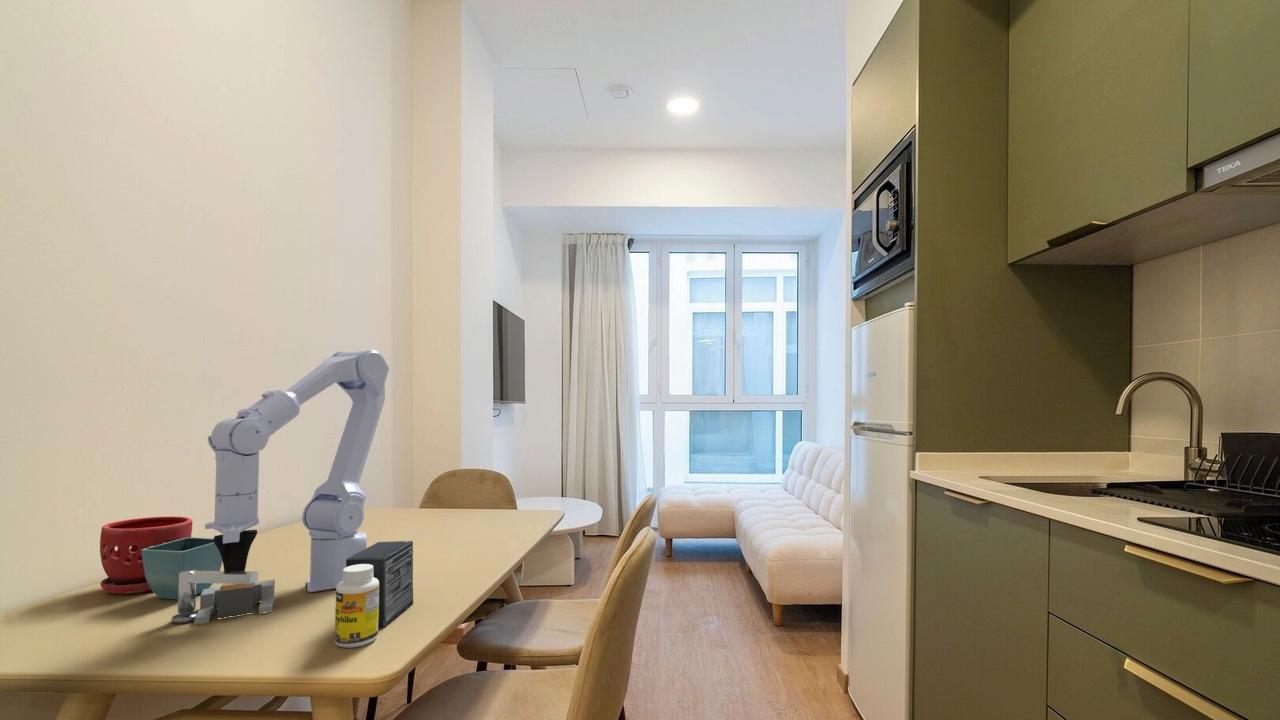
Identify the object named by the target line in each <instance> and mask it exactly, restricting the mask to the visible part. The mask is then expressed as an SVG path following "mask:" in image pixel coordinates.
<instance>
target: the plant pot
mask: <svg viewBox="0 0 1280 720" xmlns="http://www.w3.org/2000/svg"><path fill="white" fill-rule="evenodd" d="M192 533H193V519H192V518H189V517H186V516H153V517H151V516H150V517H141V518H130V519H124V520H123V519H122V520H118V521H113V522H108V523H106V524H104V525H102V527H101V530H100V536H99V537H100V538H99V555H100V561H101V566H102V569H103V571H104V573H105V574H106V576H107V577H106V578H104V579H102V580H101V581H100V583H99V584H100V587H101V589H102V590H104V592H107V593H110V594H117V595H129V594H139V593H145V592H146V593H147V592H151V591H152V590H151V588H150V587H149V585H148V583H147V580H146V577H145V573H144V566H143V559H142V551H141V550H142V549H145V548H149V547H153V546H157V545H160V544H164V543H168V542H172V541H176V540H179V539H183V538H188V537H192ZM116 547H117V550H116V549H115V548H116Z"/></svg>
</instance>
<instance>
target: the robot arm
mask: <svg viewBox="0 0 1280 720" xmlns="http://www.w3.org/2000/svg"><path fill="white" fill-rule="evenodd" d="M389 371H390V367H389V364H388V363H387V361H386V359H385V357H384V355H383V354H382V353H381V352H379V351H378V350H375V349H366V350H359V351H338V352H335V353H334V354H332V355H331V356H329V357H326V358H324V359H323V361H322V362H321V364H319V365H318V366H317V367H316V368H314V369H313V370H311V371H309V373H307V374H306V375H305V376H304V377H302V378H301V379H299V380H298V381H297V382H296V383H294V384H293V385H292V386H291V387H290V388H288V389H286V390H282V389H274V390H267V391H265V392H263V393H262V394H261V397H262V398H261V399H259V400H258V401H256V402H255V403H253V404H252V405H250V406H248V408H241V409H240V410H238V411H237V415H236V417H235V418H226V419H223V420H221V421H220V422H218V423H217V424H216V425H215V426H214V427H213V429H212V432H211V435H209V436H207V443H208V446H209V447H210V448H211V450H213V452H214V453H215V457H214V458H215V485H214V487H215V491H214V521H212V522H211V521H209V522H206V523H205V524H204V529H205V530H211V529H213V530H215V531H217V532H219V533H221V534H218V535H214V536H213V539H214V540H213V541H214V543H215V545H216V546H217V548H218V550H219V552H220V554H221V557H222V567H223V571H246V568H247V561H248V558H249V552H250V549H251V547H252V544H253V542H254V540H255V539H256V537H257V535H258V530H257V529H251V528H252V527H255V526H257V525H258V524H259V523H260V518H259V516H258V511H259V476H260V475H259V472H260V471H259V470H260V451H263V450H264V449H265V447H266V446H267V445H268V442H269V438H270V437H271V436H272V435H273V434H274V433H276V432H277V431H279V430H280V429H281V428H283V427H284V426H285V425H287V424H288V423H290V422H291V421H292V420H294V419H295V418H296V417H298V416H299V415H300V412H301V411H300V409H301V405H303V404H304V403H306V402H307V401H309V400H311V399H312V398H314V397H316V396H317V395H319V394H320V393H322V392H323V391H325V390H326V389H328V388H330V387H331V386H332V385H334V384H337V385H338V387H340V388H341V389H342V390H343V391H344V393H345V394H346V395H348V396H349V397H350V399H351V401H352V404H351V408H350V411H349V413H348V417H347V420H346V423H345V425H344V429H343V431H342V435H341V438H340V441H339V443H338V446H337V447H338V448H337V449H336V452H335V456H334V459H333V463H332V464H331V468H330V471H329V474H328V477H327V480H326V481H324V482H323V483H322V484H321V485H319V486H318V487H316V489H315V490H314V493H313V495H312V497H311V499H310V501H309V502H307V504H306V505H305V506H304V509H303V511H302V514H301V515H302V517H301V519H302V520H301V521H302V524H303V525H304V527H305V528H306V529H307V530H309V531H308V532H309V533H308V535H309V536H310V567H309V569H310V570H309V578H307V580H306V581H307V582H306V583H307V585H306V586H307V588H306V589H307V592H308V593H315V592H321V591H326V590H327V591H328V590H333V589H336V587H337V585H338V584H339V583H340V582H342V581H343V580H342V579H343V578H342V576H343V569H344V568H346V559H347V558H349V557H351V556H353V555H355V554H357V553H359V552H361V551H362V550H364V549H366V548H368V545H367V534H366V532H364V531H363V532H361V531H360V532H358V530H359V528H361V526H362V524H363V521H364V517H365V510H364V509H365V508H364V507H365V500H366V495H365V493H364V491H363V490H362V488H360V486H359V484H360V482H361V478H362V474H363V472H364V469H365V466H366V462H367V459H368V455H369V452H370V449H371V447H372V443H373V439H374V436H375V432H376V430H377V427H378V423H379V421H380V417H381V414H382V411H383V407H384V404H385V400H386V386H385V384H386V381H387V378H388V375H389Z"/></svg>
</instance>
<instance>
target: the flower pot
mask: <svg viewBox="0 0 1280 720" xmlns="http://www.w3.org/2000/svg"><path fill="white" fill-rule="evenodd" d="M213 540H214V538H210V537H209V538H207V537H192V536H191V537H188V538H183V539H179V540H176V541H172V542H168V543H164V544H160V545H157V546H151V547H149V548H145V549H142V550H141V551H142V559H143V566H144V573H145V577H146V580H147V583H148V585H149V587H150V588H151V591H152V592H153V593H154V595H155V596H156V597H158V598H159V599H163V598H164V599H165V600H167V599H169V600H176V601H178V589H179V572H182V571H185V570H197V571H221V569H222V567H223V561H222V557H221V554H220V552H219V550H218V548H217V546H216V545H215V543H214V541H213ZM212 585H214V583H196V595H199V594H202V592H203V590H204V589H209V588H211V586H212Z"/></svg>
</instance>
